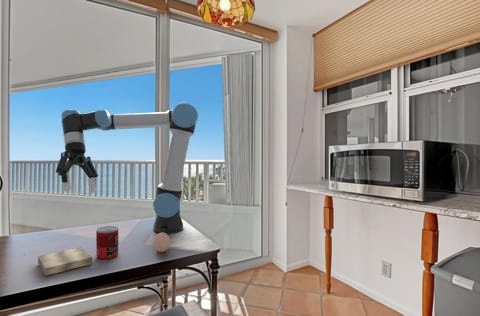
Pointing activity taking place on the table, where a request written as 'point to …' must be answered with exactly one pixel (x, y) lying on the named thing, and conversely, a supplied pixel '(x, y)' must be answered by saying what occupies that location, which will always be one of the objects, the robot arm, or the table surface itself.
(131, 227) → the table surface
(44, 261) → the maple stand
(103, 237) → the canned food
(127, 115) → the robot arm
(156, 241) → the egg
